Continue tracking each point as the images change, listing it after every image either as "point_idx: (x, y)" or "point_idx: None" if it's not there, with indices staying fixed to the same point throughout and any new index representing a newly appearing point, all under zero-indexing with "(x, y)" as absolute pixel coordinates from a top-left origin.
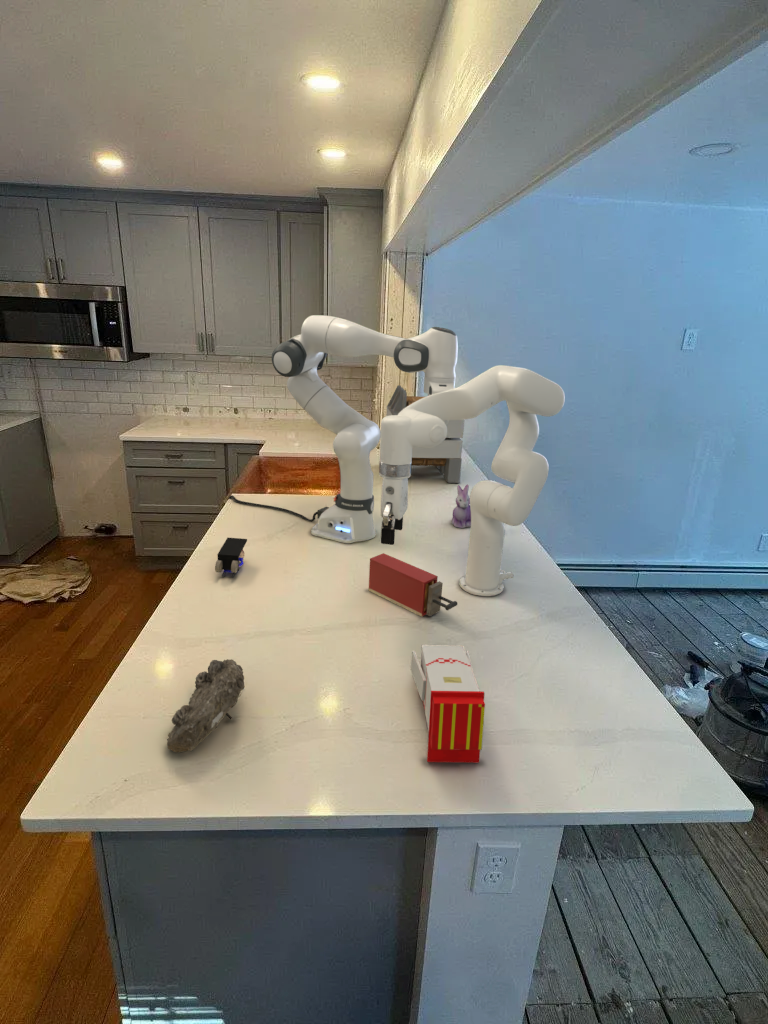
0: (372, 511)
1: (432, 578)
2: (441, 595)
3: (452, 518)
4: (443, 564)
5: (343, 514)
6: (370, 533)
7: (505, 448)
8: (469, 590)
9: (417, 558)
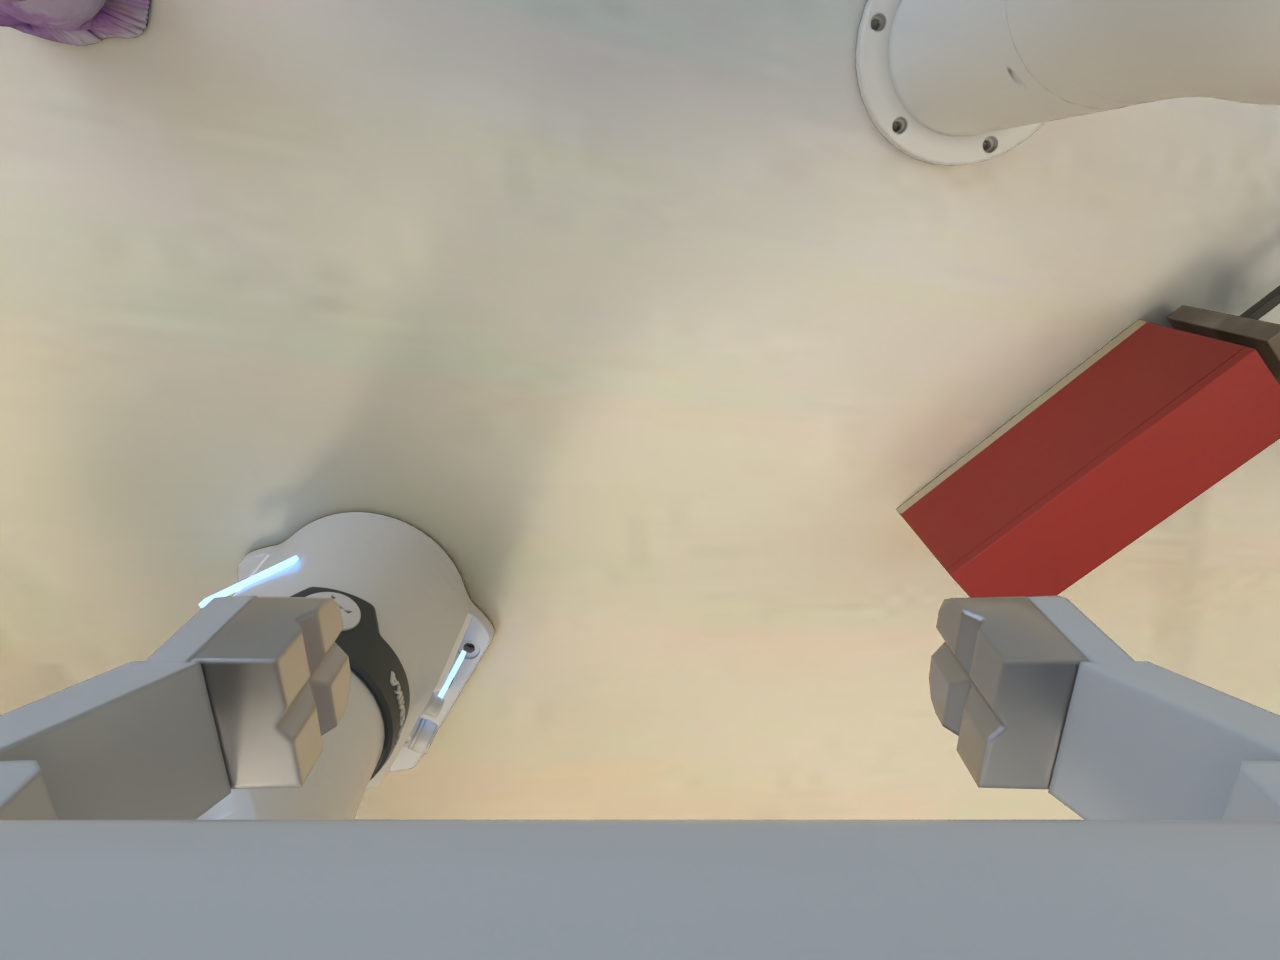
0: (342, 594)
1: (1273, 378)
2: (1236, 316)
3: (32, 32)
4: (703, 208)
5: (407, 725)
6: (415, 549)
7: None
8: (1036, 130)
9: (635, 334)
